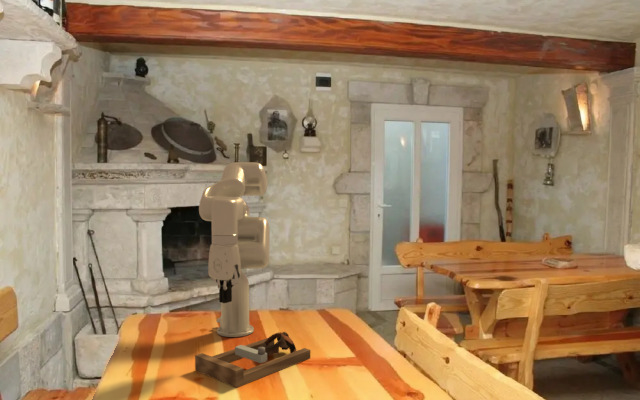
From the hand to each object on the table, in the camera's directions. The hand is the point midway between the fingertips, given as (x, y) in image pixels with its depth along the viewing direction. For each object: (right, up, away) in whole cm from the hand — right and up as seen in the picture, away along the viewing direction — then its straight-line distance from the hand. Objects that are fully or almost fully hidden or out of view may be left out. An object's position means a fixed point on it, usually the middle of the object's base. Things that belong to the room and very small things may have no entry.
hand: (225, 301), depth 157 cm
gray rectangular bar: (+8, -15, -6) cm, 18 cm away
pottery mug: (+16, -17, +3) cm, 24 cm away
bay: (+10, -17, -3) cm, 20 cm away
